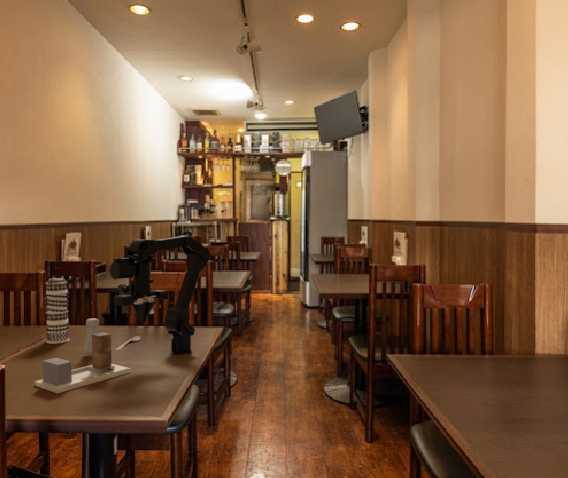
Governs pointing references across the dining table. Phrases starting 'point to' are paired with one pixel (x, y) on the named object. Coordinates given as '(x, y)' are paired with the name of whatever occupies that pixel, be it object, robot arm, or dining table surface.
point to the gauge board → (72, 375)
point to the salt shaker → (90, 335)
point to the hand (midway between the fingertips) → (142, 323)
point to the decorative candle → (57, 311)
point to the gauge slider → (101, 352)
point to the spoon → (128, 341)
